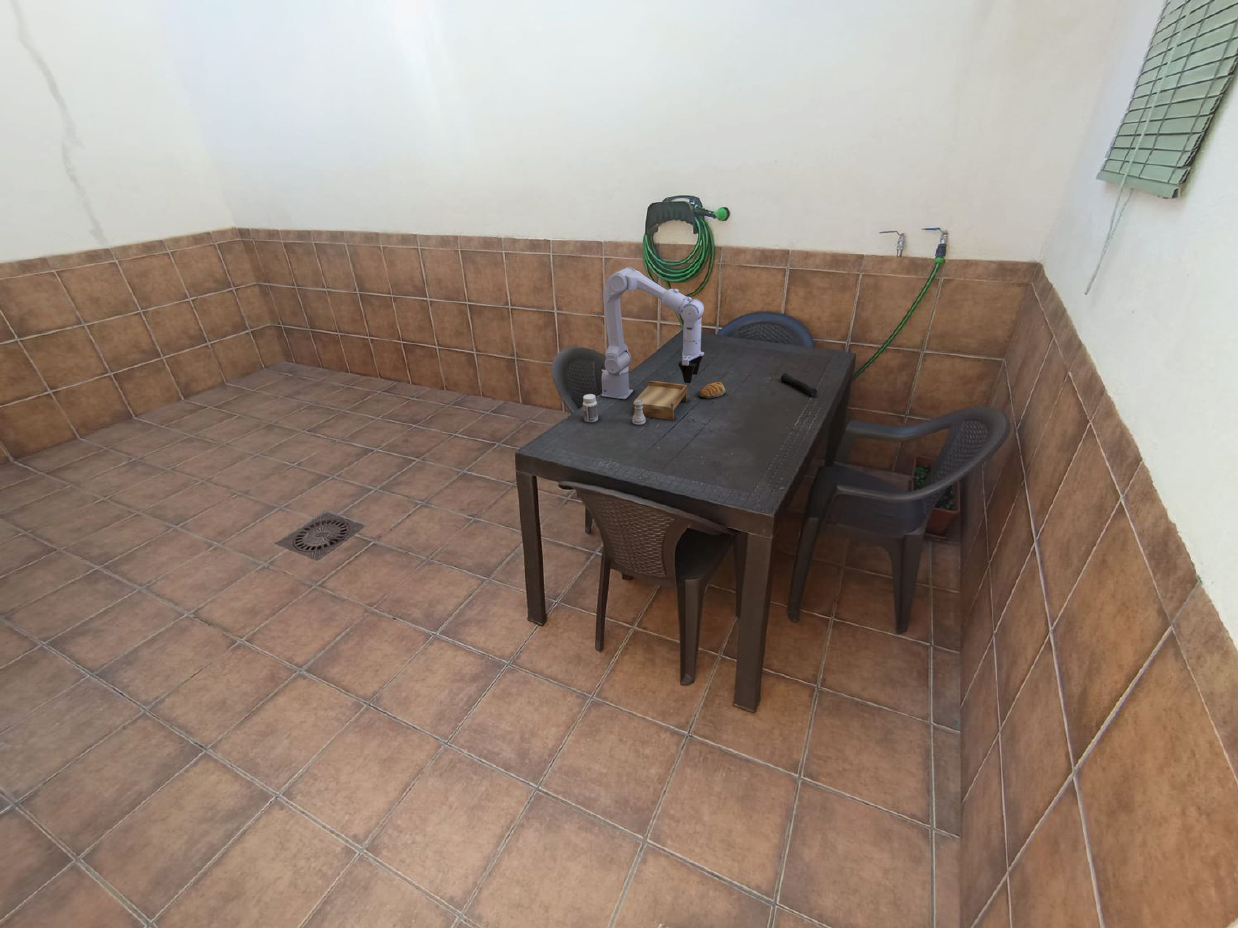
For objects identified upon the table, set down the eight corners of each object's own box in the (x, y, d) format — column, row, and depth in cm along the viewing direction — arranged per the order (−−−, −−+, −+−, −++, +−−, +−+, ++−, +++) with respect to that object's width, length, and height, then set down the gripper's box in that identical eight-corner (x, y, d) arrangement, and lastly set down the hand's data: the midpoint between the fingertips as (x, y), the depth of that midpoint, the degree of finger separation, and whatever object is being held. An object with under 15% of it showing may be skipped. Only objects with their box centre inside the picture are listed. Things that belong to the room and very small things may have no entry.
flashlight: (787, 379, 209) (788, 372, 207) (817, 395, 196) (818, 387, 194) (780, 381, 208) (781, 373, 206) (810, 397, 195) (811, 389, 193)
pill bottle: (600, 417, 188) (598, 394, 184) (595, 423, 184) (593, 400, 180) (587, 415, 189) (585, 392, 185) (581, 421, 186) (579, 398, 181)
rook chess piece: (647, 420, 184) (647, 398, 180) (642, 426, 181) (642, 404, 177) (635, 418, 186) (634, 396, 182) (630, 424, 183) (629, 402, 179)
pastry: (708, 401, 195) (708, 391, 193) (694, 395, 200) (694, 386, 198) (726, 393, 200) (727, 383, 198) (712, 388, 205) (713, 378, 203)
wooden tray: (633, 414, 189) (632, 398, 186) (649, 395, 201) (649, 380, 198) (672, 420, 184) (673, 403, 181) (687, 400, 196) (687, 385, 193)
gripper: (697, 347, 174) (696, 388, 181) (709, 333, 185) (708, 371, 192) (676, 345, 176) (675, 385, 183) (689, 331, 188) (688, 369, 195)
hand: (690, 378), depth 188 cm, fingers open, 7 cm apart
